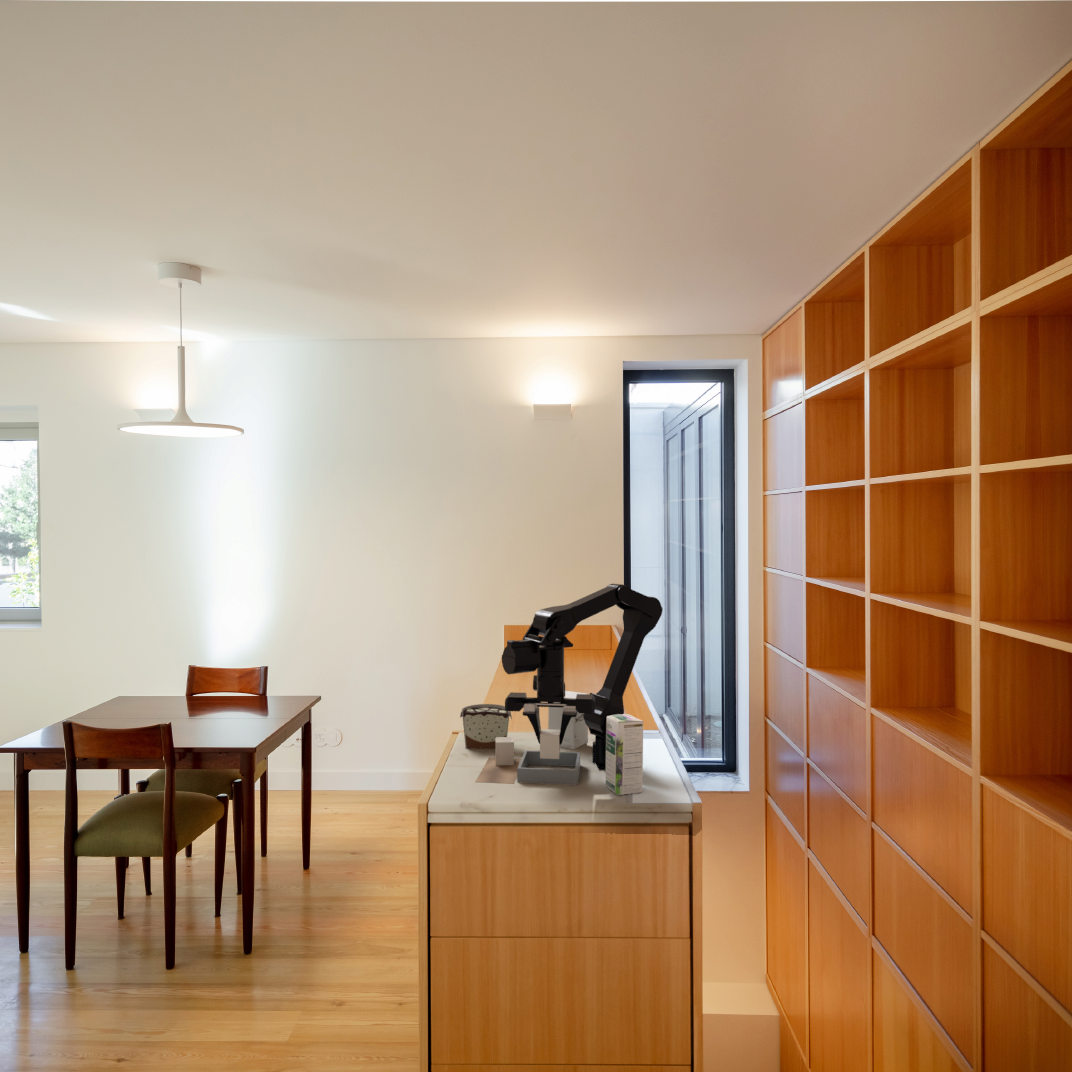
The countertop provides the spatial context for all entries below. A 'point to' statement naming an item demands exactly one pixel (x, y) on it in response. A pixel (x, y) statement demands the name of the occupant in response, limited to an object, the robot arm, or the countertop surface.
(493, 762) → the brown rectangular board
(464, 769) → the countertop surface
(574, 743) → the supplement box
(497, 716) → the food container
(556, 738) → the stone
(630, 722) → the syrup box
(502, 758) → the cream white block
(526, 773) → the bin
